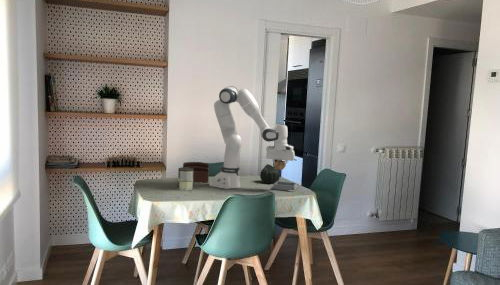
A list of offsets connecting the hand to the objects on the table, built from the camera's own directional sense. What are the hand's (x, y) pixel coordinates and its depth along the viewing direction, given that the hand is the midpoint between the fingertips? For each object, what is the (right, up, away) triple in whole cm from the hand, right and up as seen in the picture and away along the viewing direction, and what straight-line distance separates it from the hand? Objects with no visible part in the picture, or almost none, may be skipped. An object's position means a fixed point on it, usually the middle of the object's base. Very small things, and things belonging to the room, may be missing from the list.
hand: (279, 166), depth 288 cm
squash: (-6, -15, +29) cm, 33 cm away
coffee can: (-66, -15, -8) cm, 68 cm away
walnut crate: (0, -2, 0) cm, 2 cm away
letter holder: (-63, -13, +20) cm, 67 cm away
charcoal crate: (+5, -17, +9) cm, 20 cm away
